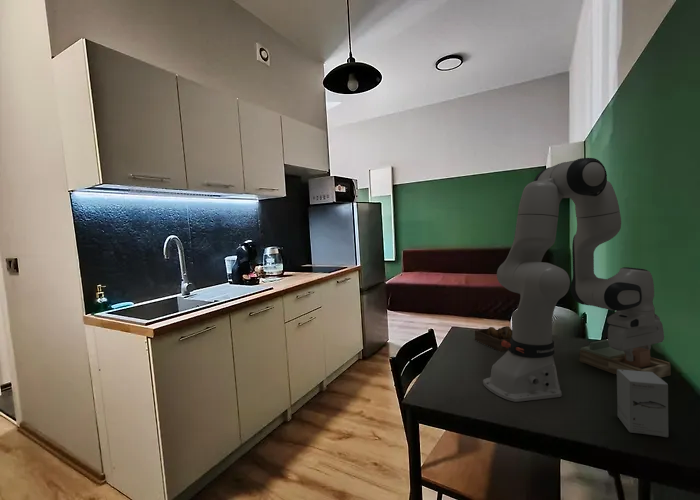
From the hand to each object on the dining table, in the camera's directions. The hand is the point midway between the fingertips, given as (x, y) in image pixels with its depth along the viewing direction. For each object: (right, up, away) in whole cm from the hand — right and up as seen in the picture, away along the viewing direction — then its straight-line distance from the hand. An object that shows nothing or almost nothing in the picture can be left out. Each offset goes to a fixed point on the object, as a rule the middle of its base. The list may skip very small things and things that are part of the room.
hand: (637, 359), depth 106 cm
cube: (0, -2, 0) cm, 2 cm away
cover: (-3, -1, +10) cm, 10 cm away
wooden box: (-1, -4, +4) cm, 6 cm away
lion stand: (-31, -5, +34) cm, 46 cm away
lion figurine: (-30, -5, +33) cm, 45 cm away
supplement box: (-23, -7, -27) cm, 37 cm away
